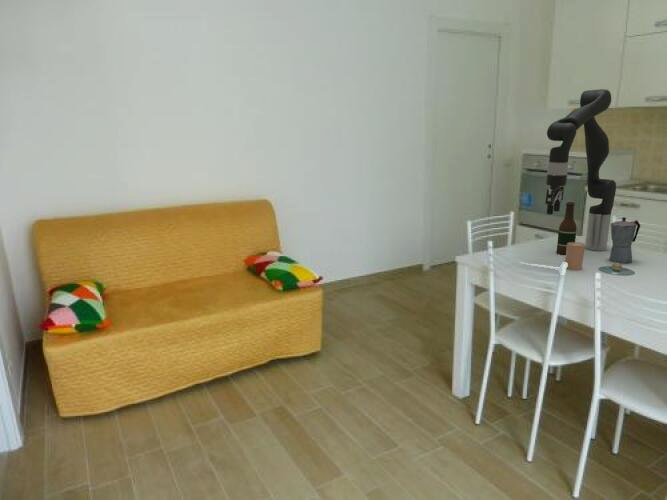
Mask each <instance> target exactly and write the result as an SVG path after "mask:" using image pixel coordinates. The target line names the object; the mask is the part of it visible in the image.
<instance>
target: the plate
mask: <svg viewBox="0 0 667 500" xmlns="http://www.w3.org/2000/svg"><path fill="white" fill-rule="evenodd" d="M598 271H600V272H602V273H603V274H607V275H613V276H619V277H620V276H621V277H622V276H624V277H629V276H633V275H636V272H635V271H634V270H632V269H630V268H625V267H622V268H621V270H619V271H615V270H613V268H612V265H610V266H609V265H607V266H606V265H604V266H600V267H598Z"/></svg>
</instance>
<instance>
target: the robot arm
mask: <svg viewBox="0 0 667 500" xmlns="http://www.w3.org/2000/svg"><path fill="white" fill-rule="evenodd" d="M611 103H612V94H611V92H610V90H609V89H605V88H603V89H602V88H600V89H590V90H585V91H583V92H582V93H581V94H580V100H579V107H577V108H575V109H573V110H572V111H570V112H569V113H568V114H567V115H566V116H564V117H562V118H560V119H557V120H556V121H553V122H552V123H551V124H550V125H549V126H548V128H547V130H546V136H547V138H548V139H549V141H553V142H562V143H561V145H560V146H554V147H552V148H551V149H550V151H549V158H548V165H547V172H546V183H545V184H546V185H547V186H550V188H547V189H546V193H545V195H546V196H545V205H547V207H546V208H547V209H546V214H547V215H553V214H554V212H557V213H558V212H560V208H561V203H562V201H563V200H564V190H565V187H566V185H567V181H568V171H569V155H570V150H571V147H572V146H573V142H574V140H575V138H576V135H577V131H578V130H579V129H580V128H581V127H582V126H583V130H584V144H585V145H584V147H585V153H586V163H587V166H586V167H587V192H588V195H589V197H590V198H592V199H598V200H599V199H600V200H601V203H599V204H595V205H591V206H590V207H589V209H588V210H589V211H588V218H587V227H586V235H585V243H584V246H585V247H584V249H587V250H592V251H598V252H599V251H600V252H601V251H602V252H603V251H607V247H608V240H609V233H610V227H611V217H612V211H613V207H614V202H615V198H616V193H617V191H616V190H617V183H616V181H615V180H614V179H609V178H608V179H607V178H600V169H601V167H602V165H603V164H604V162H605V161H606V160H607V158H608V156H609V154H610V145H609V142H610V141H609V138H608V134H607V133H606V132H605V131H604V130H603V128H602V127H601V126H600V125H599V123H598V122H597V120H596V116H598V115H599V114H601V113H603V112H605V111H607V110H608V109H609V108H610V106H611Z"/></svg>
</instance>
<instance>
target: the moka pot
mask: <svg viewBox="0 0 667 500" xmlns="http://www.w3.org/2000/svg"><path fill="white" fill-rule="evenodd" d="M640 228H641V224H640V222H639V221H638V220H632V221H631V220H630V221H627V218H626V217H624V216H623V217H621V220H619V221H613V222H610V233H611V234H610V235H611V241H612V245H611V251H610V255H609V259H608V260H609V261H610V262H611V263H620V264H621V265H622V264H626V265H628V264H633V252H632V243H634V242H636V240H637V237H638V234H639V231H640Z"/></svg>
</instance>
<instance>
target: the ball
mask: <svg viewBox="0 0 667 500" xmlns="http://www.w3.org/2000/svg"><path fill="white" fill-rule="evenodd" d="M611 266H612V268H613V270H615V271H619V270H621V268H623V266H622V263H615V262H613V264H612V265H611Z"/></svg>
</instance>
